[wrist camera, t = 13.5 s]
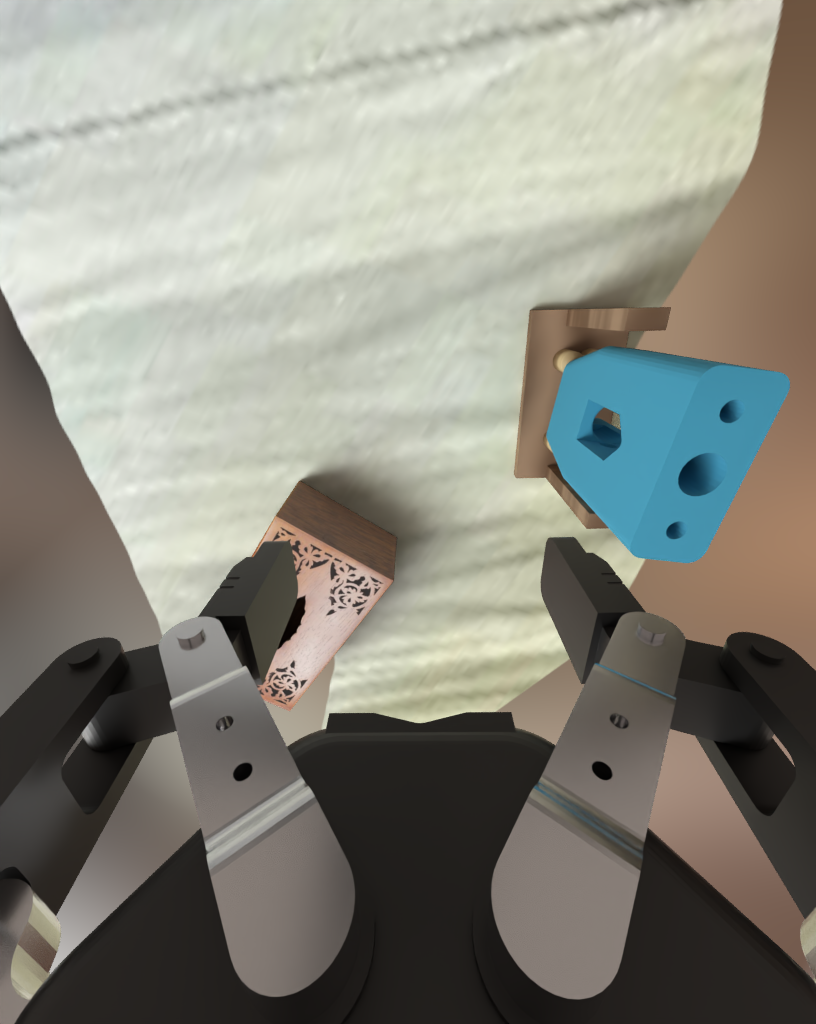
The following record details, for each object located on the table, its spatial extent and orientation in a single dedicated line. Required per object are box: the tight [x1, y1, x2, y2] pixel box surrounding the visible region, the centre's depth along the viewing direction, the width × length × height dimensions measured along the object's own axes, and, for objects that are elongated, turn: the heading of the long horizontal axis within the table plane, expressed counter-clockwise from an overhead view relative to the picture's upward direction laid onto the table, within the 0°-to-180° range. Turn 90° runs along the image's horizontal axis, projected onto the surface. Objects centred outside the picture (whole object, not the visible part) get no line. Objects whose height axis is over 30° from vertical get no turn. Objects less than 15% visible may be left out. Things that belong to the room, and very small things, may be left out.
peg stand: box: [514, 307, 671, 529], centre depth 40 cm, size 10×18×14 cm, turn 1°
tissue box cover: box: [252, 481, 397, 711], centre depth 53 cm, size 26×14×10 cm, turn 146°
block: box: [546, 346, 790, 563], centre depth 33 cm, size 12×5×20 cm, turn 173°
